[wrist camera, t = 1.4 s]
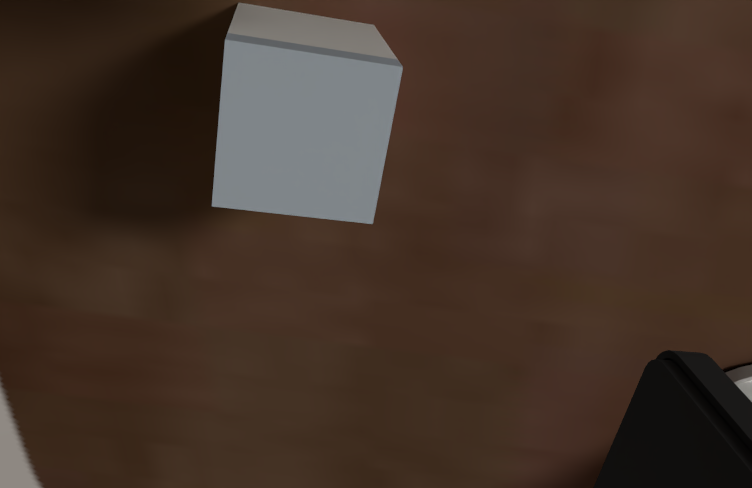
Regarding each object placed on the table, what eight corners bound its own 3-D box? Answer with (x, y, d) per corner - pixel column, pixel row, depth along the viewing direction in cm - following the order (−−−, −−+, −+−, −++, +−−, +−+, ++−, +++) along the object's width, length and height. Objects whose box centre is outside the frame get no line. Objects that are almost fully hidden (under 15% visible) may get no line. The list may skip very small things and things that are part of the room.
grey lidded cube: (352, 150, 28) (372, 224, 22) (227, 134, 27) (211, 206, 21) (373, 24, 26) (402, 67, 20) (238, 2, 25) (225, 39, 19)
